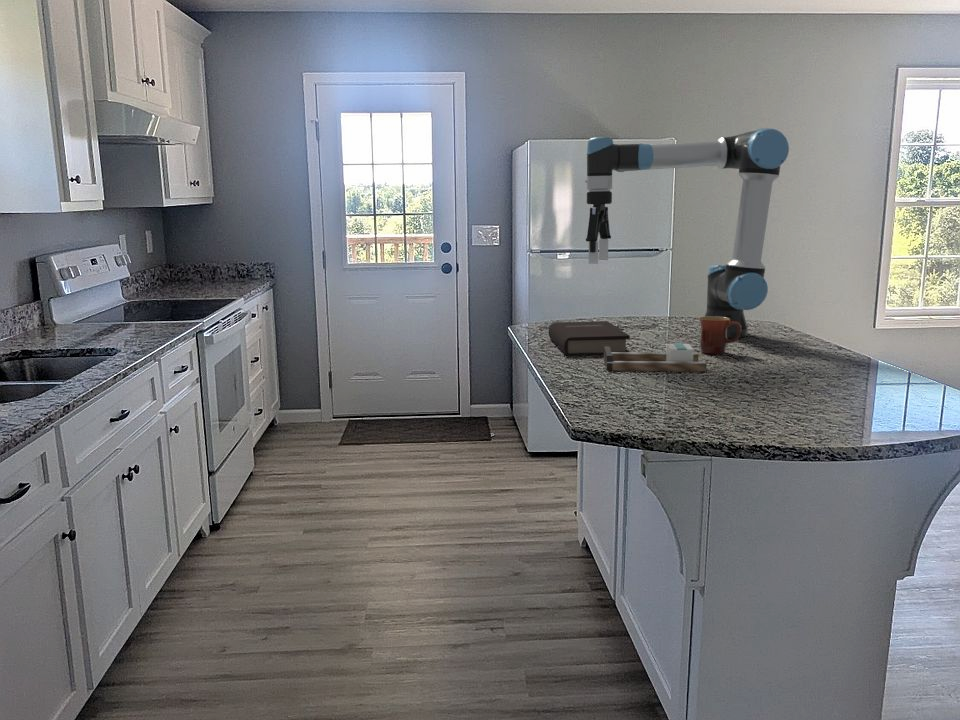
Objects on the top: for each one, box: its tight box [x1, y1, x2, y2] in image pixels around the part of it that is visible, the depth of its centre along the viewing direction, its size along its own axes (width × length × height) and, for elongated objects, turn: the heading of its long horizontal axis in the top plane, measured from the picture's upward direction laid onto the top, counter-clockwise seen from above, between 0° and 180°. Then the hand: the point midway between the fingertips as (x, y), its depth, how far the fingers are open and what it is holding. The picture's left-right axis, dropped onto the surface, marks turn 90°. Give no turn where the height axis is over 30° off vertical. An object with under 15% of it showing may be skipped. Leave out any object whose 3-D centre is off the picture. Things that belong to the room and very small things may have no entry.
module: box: [665, 342, 695, 362], centre depth 214 cm, size 6×8×6 cm
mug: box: [698, 315, 741, 356], centre depth 230 cm, size 12×9×10 cm
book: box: [548, 320, 631, 357], centre depth 244 cm, size 28×20×6 cm
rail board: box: [603, 346, 708, 372], centre depth 215 cm, size 26×13×4 cm, turn 85°
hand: (598, 261), depth 241 cm, fingers open, 13 cm apart
